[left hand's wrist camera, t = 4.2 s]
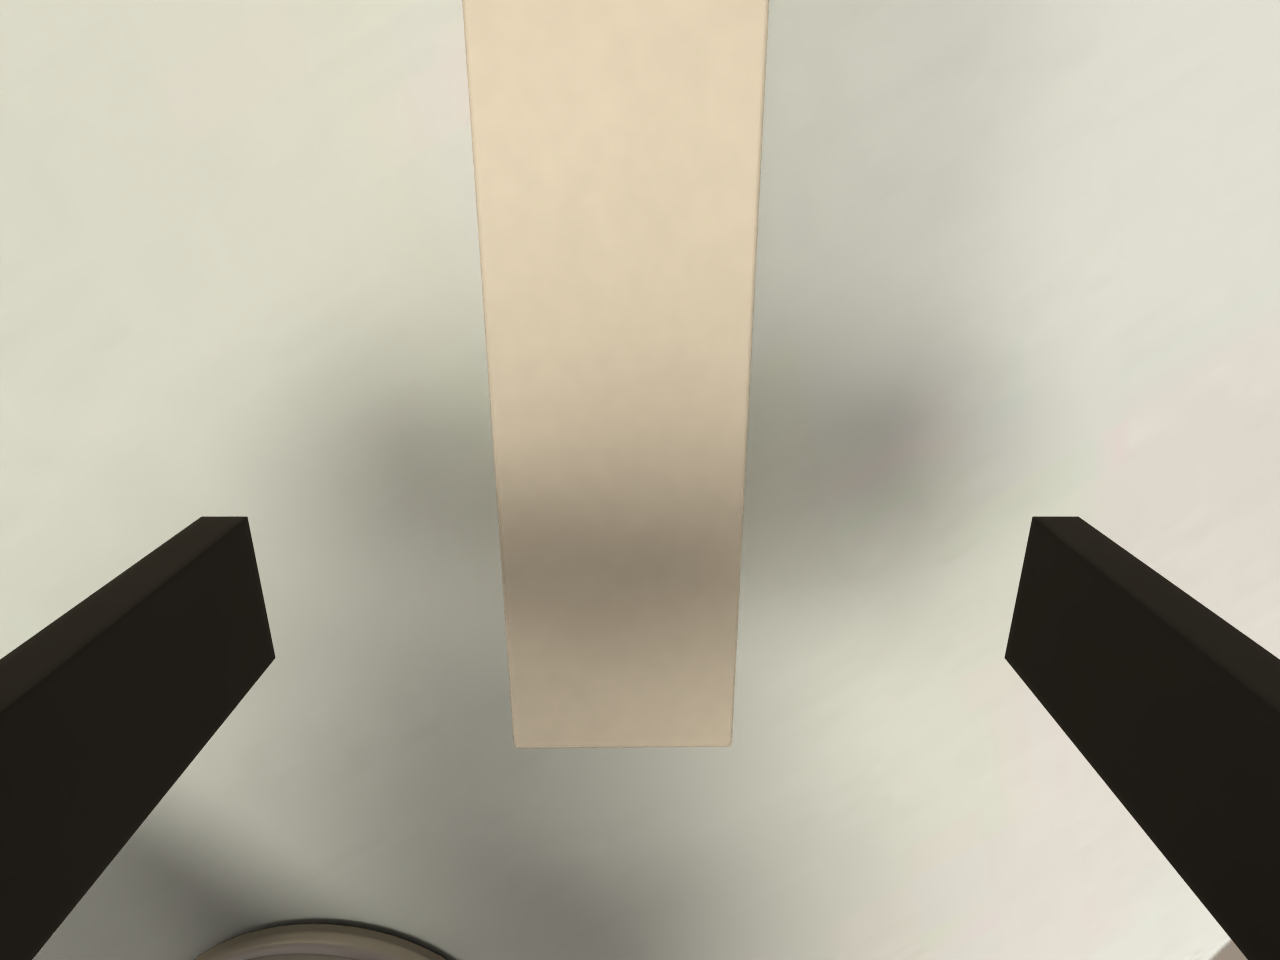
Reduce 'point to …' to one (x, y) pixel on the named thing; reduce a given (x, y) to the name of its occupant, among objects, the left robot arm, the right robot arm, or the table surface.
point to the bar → (619, 352)
